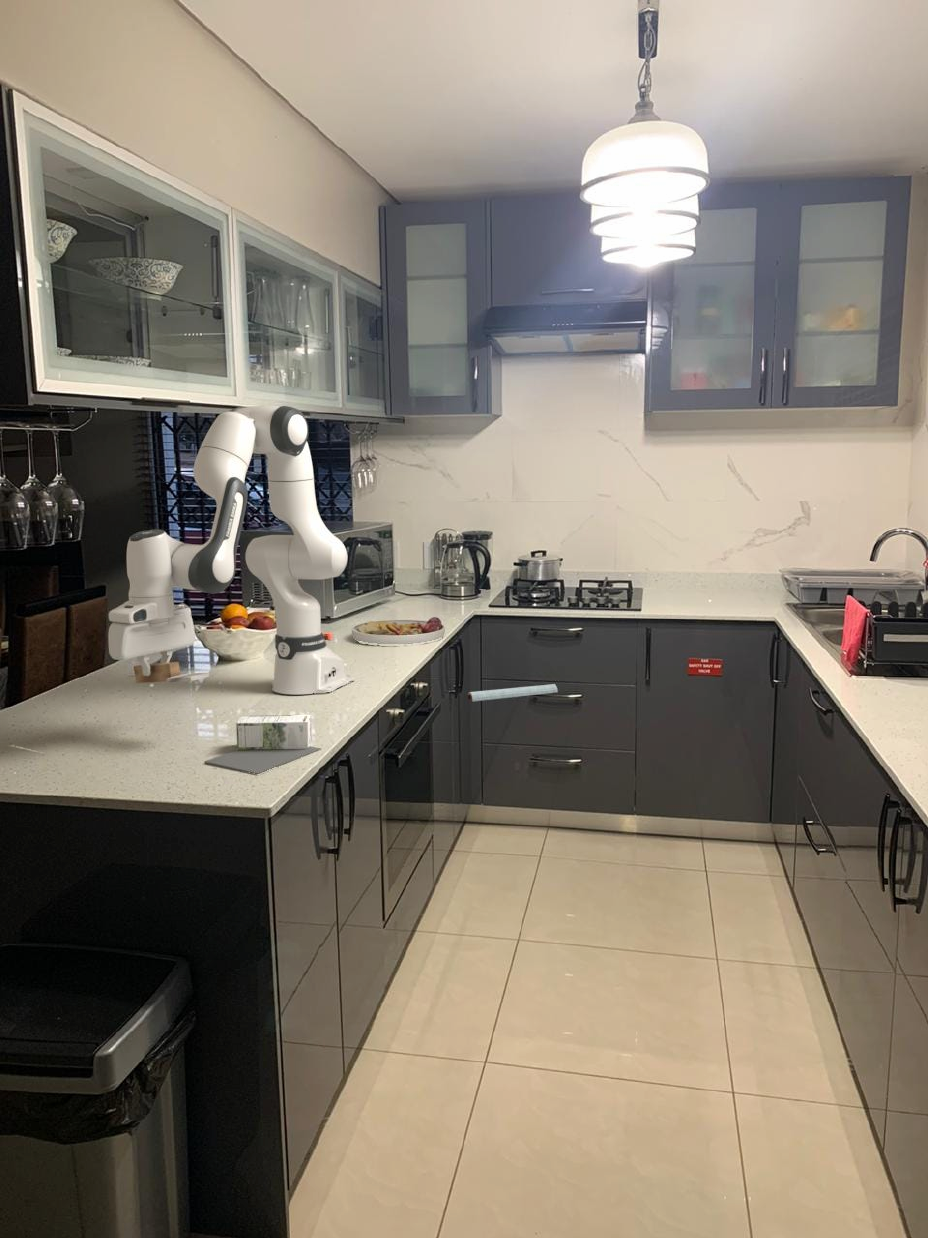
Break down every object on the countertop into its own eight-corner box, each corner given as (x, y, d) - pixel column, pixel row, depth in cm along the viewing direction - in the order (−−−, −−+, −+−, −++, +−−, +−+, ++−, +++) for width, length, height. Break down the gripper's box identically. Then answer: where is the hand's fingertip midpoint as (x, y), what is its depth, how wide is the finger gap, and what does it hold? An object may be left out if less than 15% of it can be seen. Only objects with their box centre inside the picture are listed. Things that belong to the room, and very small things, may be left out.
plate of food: (358, 653, 290) (358, 628, 289) (346, 636, 319) (345, 613, 318) (454, 648, 298) (454, 623, 296) (434, 632, 326) (433, 609, 325)
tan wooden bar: (131, 684, 202) (128, 667, 201) (150, 679, 206) (147, 663, 206) (191, 681, 192) (188, 663, 192) (209, 676, 197) (206, 659, 196)
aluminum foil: (552, 696, 237) (552, 682, 237) (564, 702, 231) (564, 688, 231) (467, 704, 230) (466, 690, 229) (476, 711, 224) (476, 696, 223)
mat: (269, 741, 199) (269, 738, 199) (321, 751, 191) (321, 748, 191) (204, 764, 184) (204, 761, 183) (258, 776, 176) (258, 773, 176)
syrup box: (241, 742, 196) (312, 740, 197) (236, 750, 190) (309, 749, 191) (240, 715, 195) (311, 714, 196) (235, 723, 189) (308, 721, 190)
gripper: (179, 601, 209) (182, 662, 211) (101, 614, 192) (106, 681, 194) (200, 603, 206) (203, 665, 208) (122, 616, 189) (127, 684, 191)
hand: (155, 673), depth 201 cm, fingers closed on tan wooden bar, 2 cm apart
